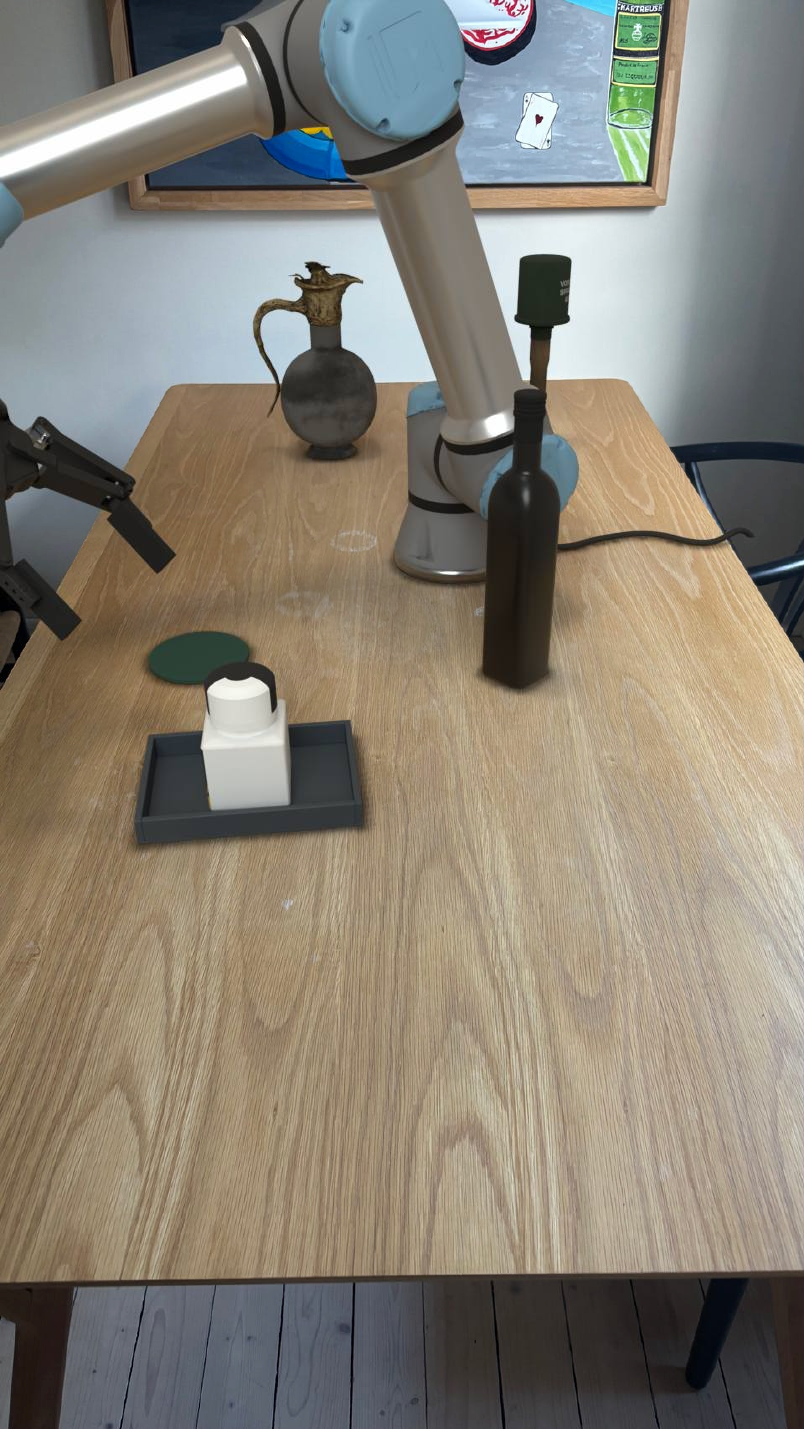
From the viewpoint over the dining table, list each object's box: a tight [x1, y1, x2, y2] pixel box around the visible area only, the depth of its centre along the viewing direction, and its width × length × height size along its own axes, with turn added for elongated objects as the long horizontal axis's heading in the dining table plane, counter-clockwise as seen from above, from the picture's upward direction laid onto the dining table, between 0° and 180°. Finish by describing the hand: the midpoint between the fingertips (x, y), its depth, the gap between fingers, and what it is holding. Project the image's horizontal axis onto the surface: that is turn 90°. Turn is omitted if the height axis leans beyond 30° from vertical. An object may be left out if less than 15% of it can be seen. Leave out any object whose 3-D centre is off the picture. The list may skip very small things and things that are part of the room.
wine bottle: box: [481, 389, 561, 690], centre depth 102 cm, size 6×6×30 cm
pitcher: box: [252, 260, 378, 461], centre depth 163 cm, size 11×19×30 cm, turn 97°
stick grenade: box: [513, 253, 573, 393], centre depth 162 cm, size 8×9×30 cm
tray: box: [133, 719, 364, 845], centre depth 93 cm, size 19×13×2 cm
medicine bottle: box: [201, 661, 291, 811], centre depth 90 cm, size 7×7×12 cm
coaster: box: [147, 630, 250, 685], centre depth 114 cm, size 11×11×1 cm
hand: (122, 596), depth 87 cm, fingers open, 13 cm apart
